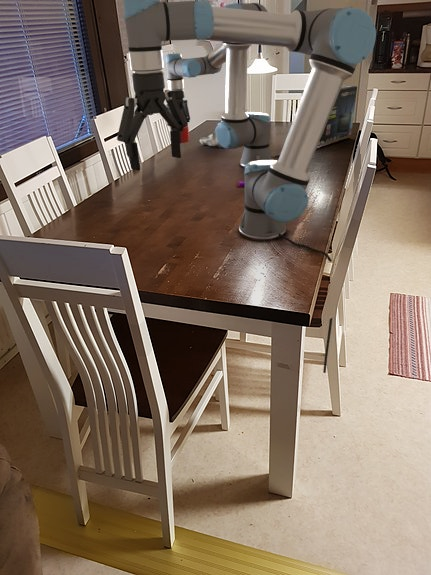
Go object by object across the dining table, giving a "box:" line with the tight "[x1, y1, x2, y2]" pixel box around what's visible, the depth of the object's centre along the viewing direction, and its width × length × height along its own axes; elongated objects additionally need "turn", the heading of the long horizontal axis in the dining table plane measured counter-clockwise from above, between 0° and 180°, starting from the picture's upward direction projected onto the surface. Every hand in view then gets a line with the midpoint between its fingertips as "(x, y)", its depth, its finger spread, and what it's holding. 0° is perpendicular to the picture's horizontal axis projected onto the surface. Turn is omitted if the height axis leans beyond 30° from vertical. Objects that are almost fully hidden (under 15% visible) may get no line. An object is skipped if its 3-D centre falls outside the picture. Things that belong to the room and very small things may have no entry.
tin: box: [181, 125, 190, 144], centre depth 230 cm, size 9×9×7 cm
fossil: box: [199, 129, 223, 148], centre depth 250 cm, size 18×11×15 cm
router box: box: [300, 84, 358, 146], centre depth 238 cm, size 36×11×27 cm, turn 134°
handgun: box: [237, 180, 245, 187], centre depth 182 cm, size 21×8×2 cm, turn 11°
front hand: (156, 163), depth 117 cm, fingers open, 13 cm apart
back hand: (180, 137), depth 231 cm, fingers closed on tin, 9 cm apart
